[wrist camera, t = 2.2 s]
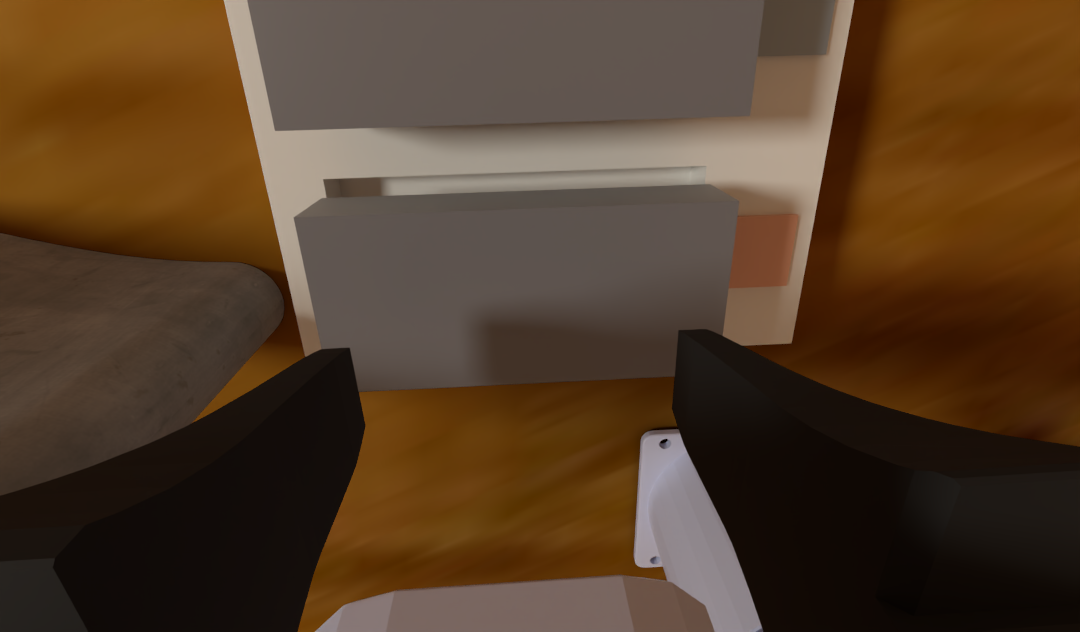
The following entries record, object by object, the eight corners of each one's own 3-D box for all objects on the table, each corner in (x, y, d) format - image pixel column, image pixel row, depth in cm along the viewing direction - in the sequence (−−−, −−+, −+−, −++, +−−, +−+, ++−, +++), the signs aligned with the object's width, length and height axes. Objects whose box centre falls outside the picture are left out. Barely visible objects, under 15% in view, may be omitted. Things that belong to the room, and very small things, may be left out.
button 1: (710, 183, 16) (739, 200, 14) (694, 339, 18) (717, 374, 16) (321, 198, 15) (293, 217, 13) (351, 355, 17) (331, 393, 15)
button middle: (740, -118, 13) (783, -152, 11) (717, 109, 15) (749, 116, 13) (263, -111, 12) (215, -145, 10) (307, 122, 15) (275, 130, 13)
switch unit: (872, -465, 14) (971, -609, 11) (756, 309, 22) (794, 346, 19) (172, -471, 13) (75, -627, 10) (332, 328, 22) (305, 369, 19)
